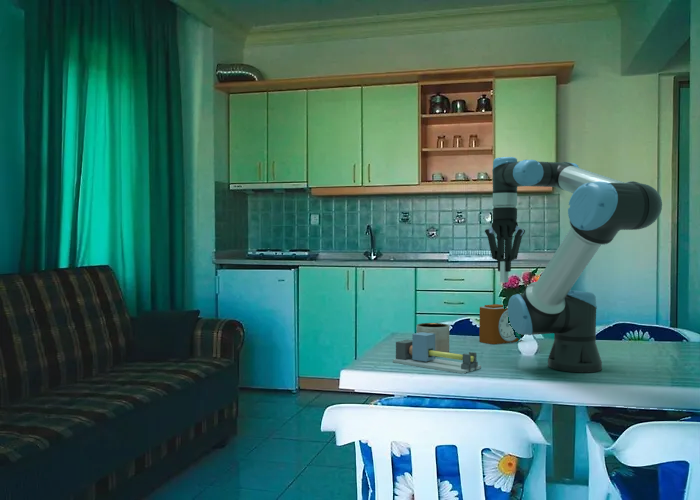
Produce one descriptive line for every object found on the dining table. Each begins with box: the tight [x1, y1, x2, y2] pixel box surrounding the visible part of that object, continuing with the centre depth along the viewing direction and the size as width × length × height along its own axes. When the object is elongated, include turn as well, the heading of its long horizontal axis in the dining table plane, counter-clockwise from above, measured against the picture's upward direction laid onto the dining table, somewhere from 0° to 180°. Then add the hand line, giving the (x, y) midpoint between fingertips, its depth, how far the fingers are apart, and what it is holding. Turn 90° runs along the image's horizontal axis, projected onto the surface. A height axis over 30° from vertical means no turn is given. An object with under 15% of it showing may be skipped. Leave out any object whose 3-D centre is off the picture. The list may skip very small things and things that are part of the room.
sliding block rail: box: [392, 339, 482, 374], centre depth 198 cm, size 25×10×6 cm, turn 50°
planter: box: [416, 322, 450, 358], centre depth 217 cm, size 11×11×10 cm
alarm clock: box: [478, 303, 519, 345], centre depth 241 cm, size 15×8×14 cm, turn 123°
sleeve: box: [411, 332, 436, 362], centre depth 201 cm, size 5×5×8 cm
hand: (504, 282), depth 207 cm, fingers closed
